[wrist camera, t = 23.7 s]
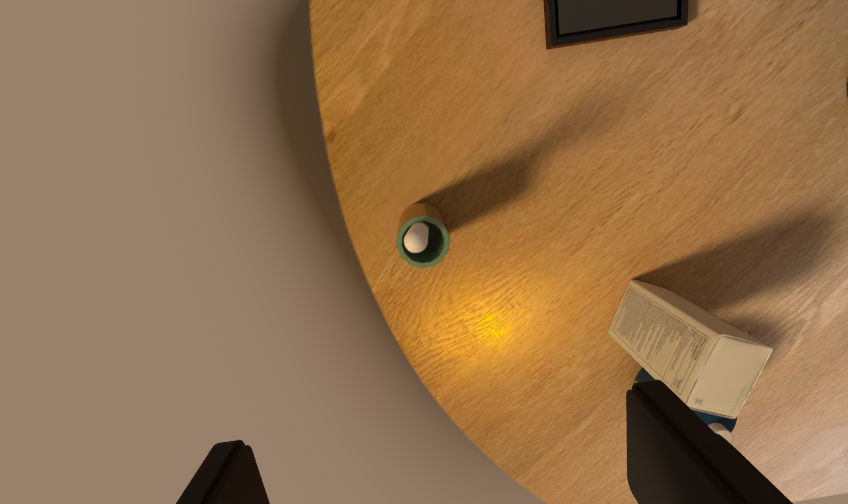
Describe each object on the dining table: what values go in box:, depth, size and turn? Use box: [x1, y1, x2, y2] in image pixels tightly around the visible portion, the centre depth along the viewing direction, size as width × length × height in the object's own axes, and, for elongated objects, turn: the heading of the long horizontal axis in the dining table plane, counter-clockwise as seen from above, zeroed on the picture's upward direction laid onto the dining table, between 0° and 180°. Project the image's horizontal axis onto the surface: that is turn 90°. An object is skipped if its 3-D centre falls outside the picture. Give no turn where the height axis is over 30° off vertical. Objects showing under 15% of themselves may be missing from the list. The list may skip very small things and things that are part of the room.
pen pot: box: [397, 202, 450, 268], centre depth 34 cm, size 4×4×7 cm
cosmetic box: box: [608, 279, 773, 419], centre depth 34 cm, size 6×4×12 cm
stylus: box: [404, 221, 429, 253], centre depth 30 cm, size 1×1×14 cm
